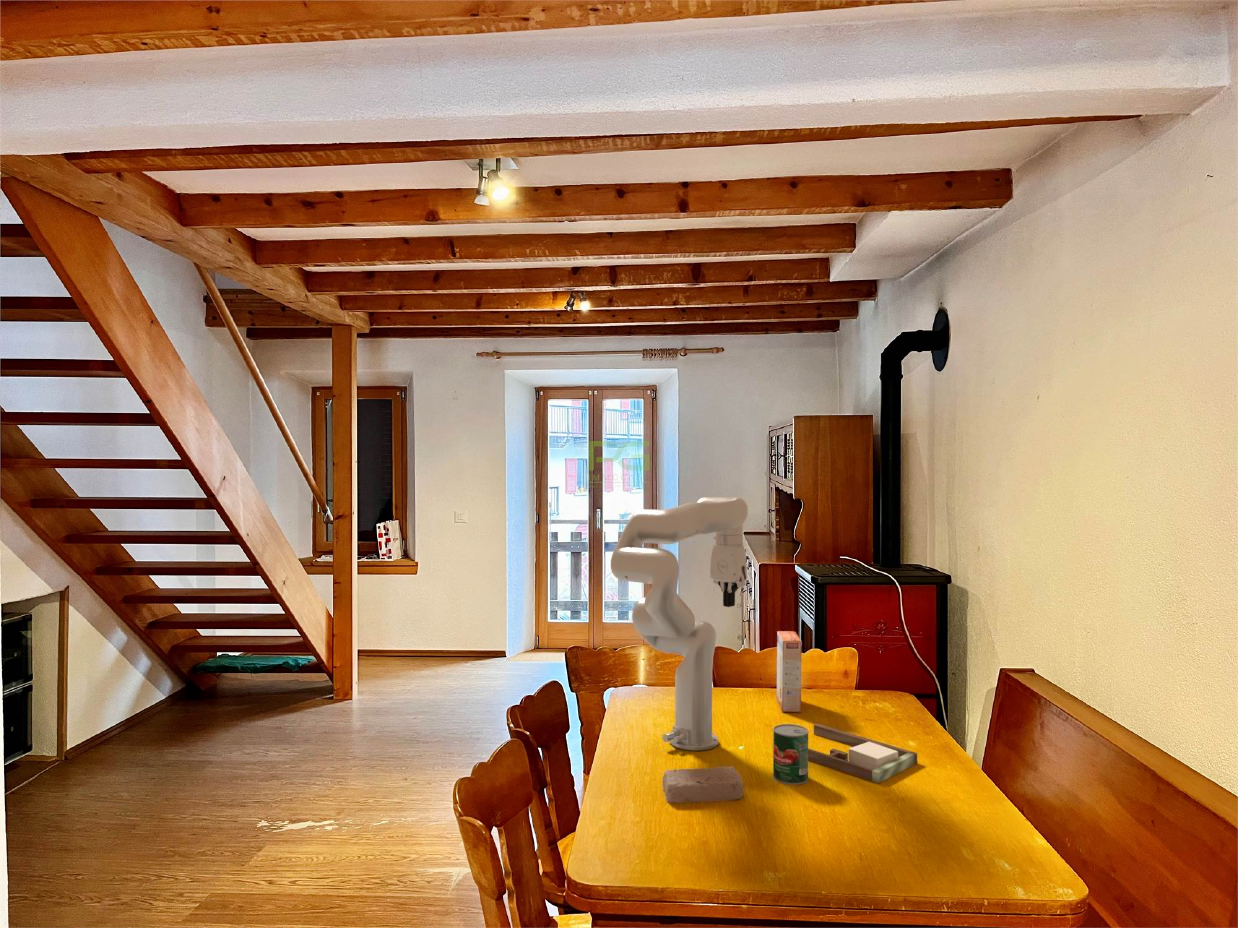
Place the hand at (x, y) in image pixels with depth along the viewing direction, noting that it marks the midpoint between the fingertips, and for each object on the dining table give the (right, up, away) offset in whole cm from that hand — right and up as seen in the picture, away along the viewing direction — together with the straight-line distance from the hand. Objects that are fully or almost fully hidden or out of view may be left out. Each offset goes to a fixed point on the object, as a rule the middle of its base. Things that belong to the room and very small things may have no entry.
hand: (729, 605), depth 214 cm
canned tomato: (+8, -32, -40) cm, 52 cm away
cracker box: (+20, -33, +14) cm, 40 cm away
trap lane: (+25, -32, -26) cm, 48 cm away
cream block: (+30, -32, -32) cm, 54 cm away
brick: (-13, -32, -48) cm, 59 cm away
